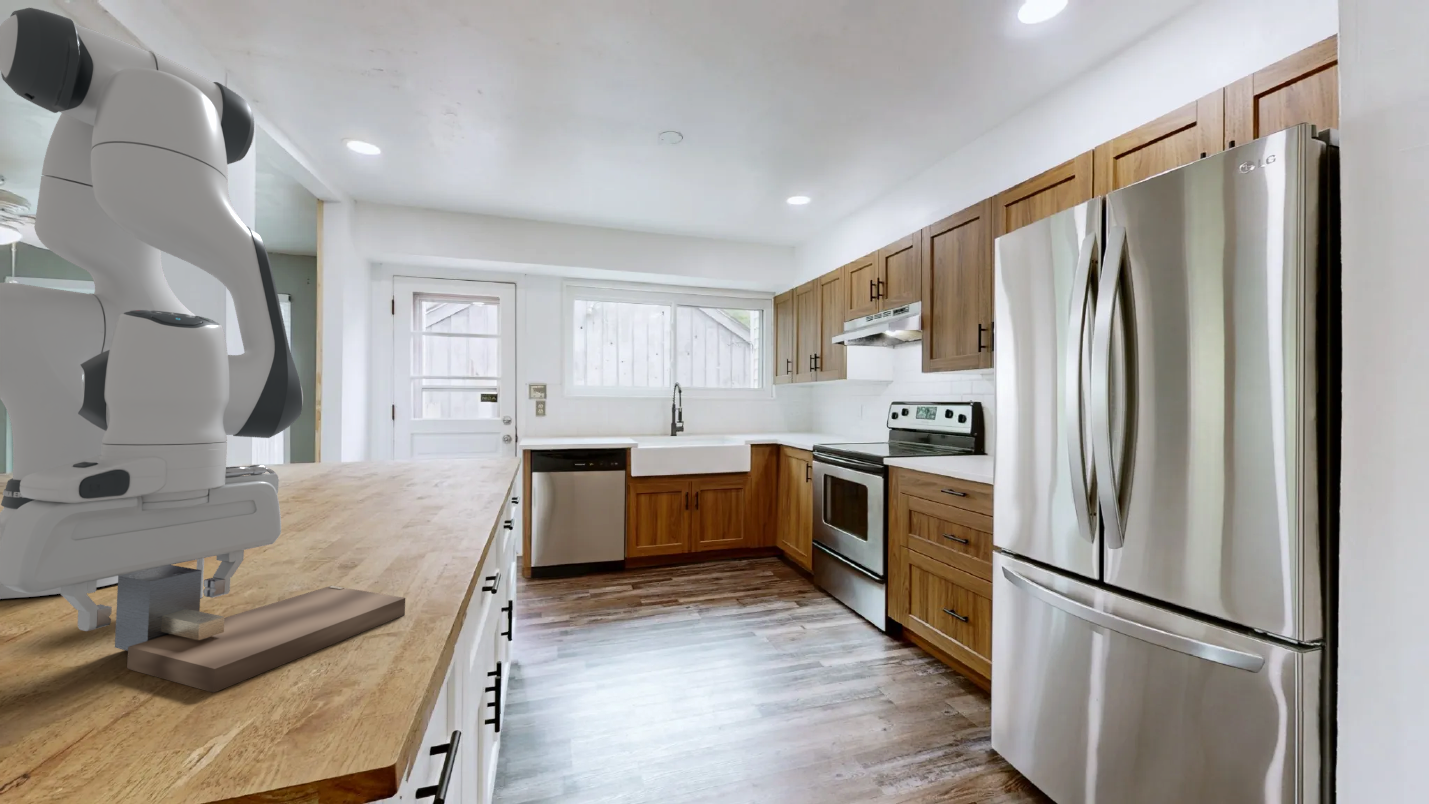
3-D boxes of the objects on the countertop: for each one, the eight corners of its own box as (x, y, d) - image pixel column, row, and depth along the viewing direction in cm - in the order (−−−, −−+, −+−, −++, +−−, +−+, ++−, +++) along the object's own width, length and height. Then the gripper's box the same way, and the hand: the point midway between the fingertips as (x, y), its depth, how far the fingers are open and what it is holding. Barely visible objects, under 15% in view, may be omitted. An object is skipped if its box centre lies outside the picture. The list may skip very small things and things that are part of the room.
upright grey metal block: (114, 647, 52) (118, 575, 53) (167, 631, 56) (170, 564, 56) (184, 665, 49) (187, 588, 49) (234, 647, 53) (237, 576, 53)
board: (127, 668, 49) (128, 645, 49) (330, 601, 67) (331, 584, 68) (213, 692, 46) (214, 667, 46) (404, 614, 64) (405, 596, 64)
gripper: (259, 461, 65) (255, 577, 65) (-9, 480, 45) (-18, 645, 45) (297, 464, 63) (292, 583, 63) (33, 485, 43) (24, 657, 43)
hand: (160, 610), depth 54 cm, fingers open, 8 cm apart
